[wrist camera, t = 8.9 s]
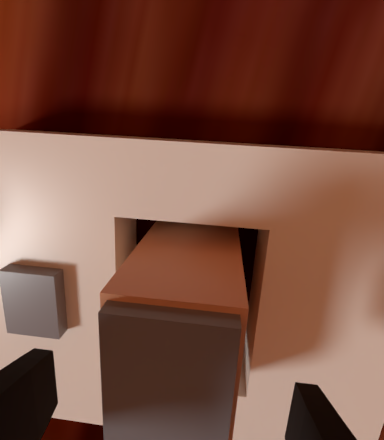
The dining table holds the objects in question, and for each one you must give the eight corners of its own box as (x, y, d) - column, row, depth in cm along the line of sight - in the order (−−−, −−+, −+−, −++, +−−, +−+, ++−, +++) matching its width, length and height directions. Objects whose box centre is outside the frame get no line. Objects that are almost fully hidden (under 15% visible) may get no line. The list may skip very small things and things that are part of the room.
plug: (226, 331, 16) (228, 495, 9) (155, 323, 16) (99, 473, 9) (237, 226, 14) (250, 323, 7) (156, 220, 15) (90, 305, 7)
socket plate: (344, 407, 17) (377, 482, 13) (41, 367, 18) (-4, 423, 15) (412, 153, 12) (486, 161, 9) (13, 129, 14) (-57, 128, 11)
